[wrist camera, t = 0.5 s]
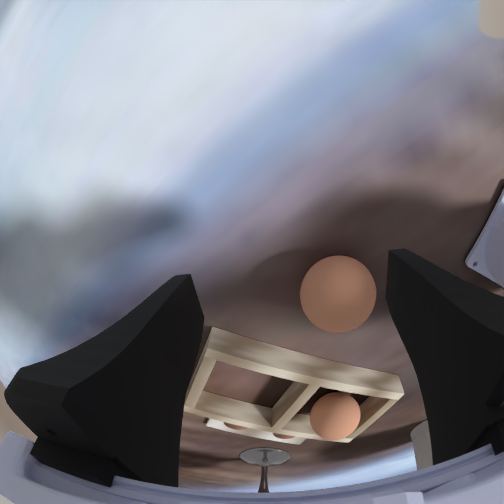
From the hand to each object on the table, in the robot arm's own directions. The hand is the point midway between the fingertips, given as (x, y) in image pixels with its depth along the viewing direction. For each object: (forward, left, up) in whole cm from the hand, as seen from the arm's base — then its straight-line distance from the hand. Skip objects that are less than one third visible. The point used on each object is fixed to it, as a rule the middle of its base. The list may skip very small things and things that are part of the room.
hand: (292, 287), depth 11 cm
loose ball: (-5, +4, -7) cm, 10 cm away
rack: (-8, +19, -10) cm, 23 cm away
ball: (-13, +17, -7) cm, 22 cm away
